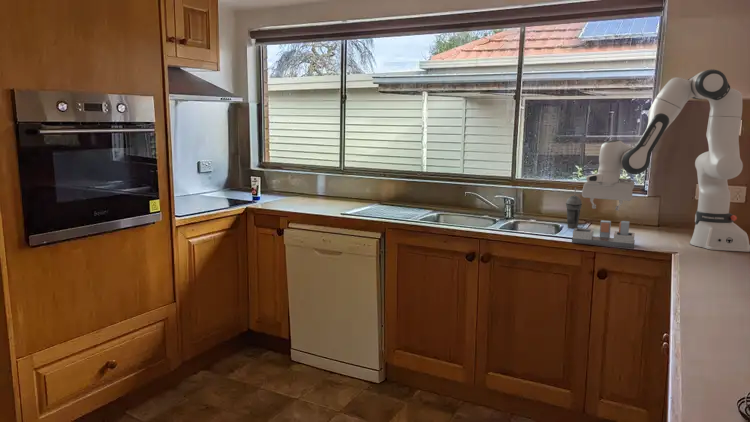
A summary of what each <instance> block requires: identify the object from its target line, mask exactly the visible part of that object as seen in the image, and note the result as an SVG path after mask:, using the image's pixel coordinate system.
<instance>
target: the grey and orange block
mask: <svg viewBox="0 0 750 422" xmlns="http://www.w3.org/2000/svg"><path fill="white" fill-rule="evenodd" d="M611 224H612V221H611V220H602V219H601V220H600V224H599V237H607V238H611V227H612V226H611Z"/></svg>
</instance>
